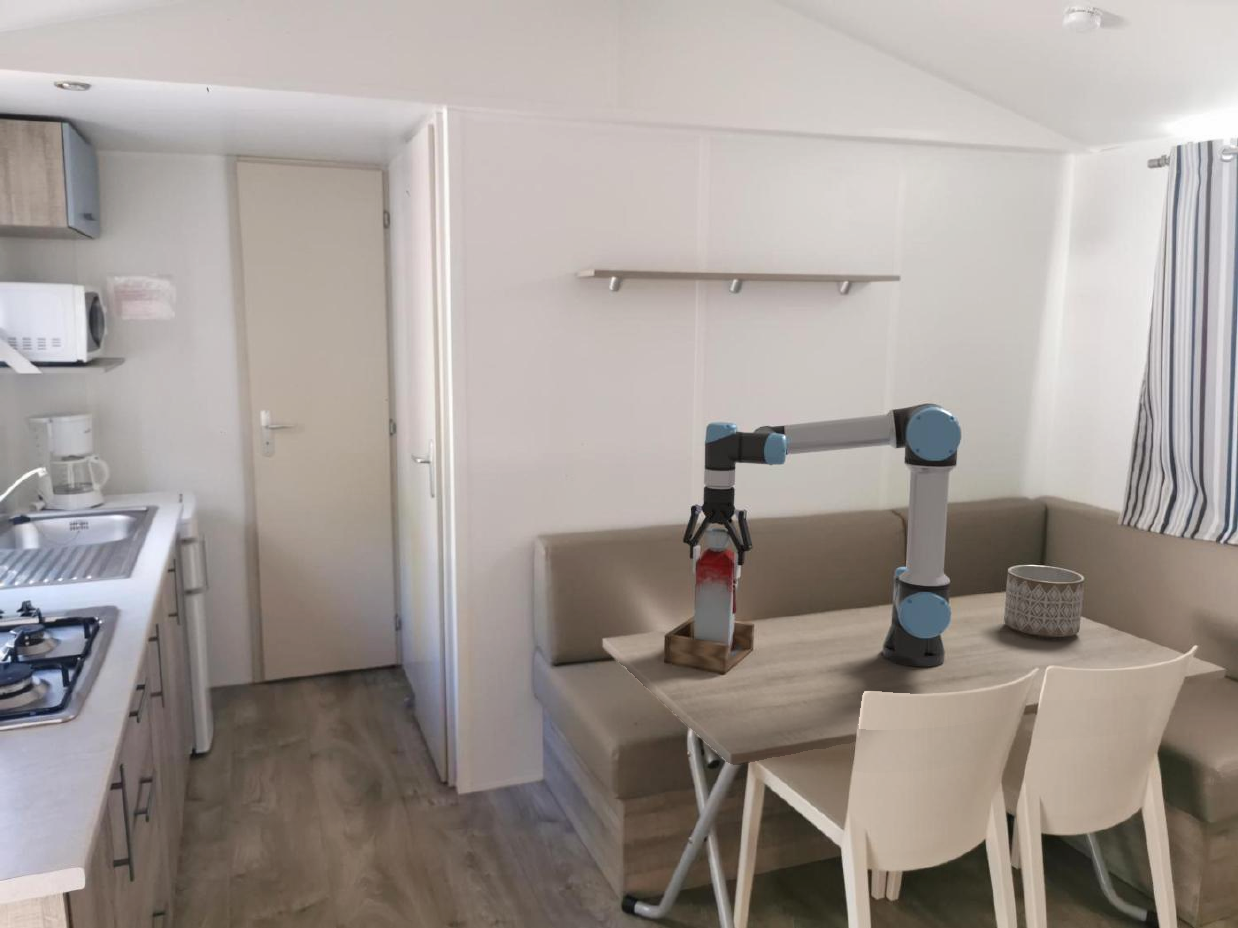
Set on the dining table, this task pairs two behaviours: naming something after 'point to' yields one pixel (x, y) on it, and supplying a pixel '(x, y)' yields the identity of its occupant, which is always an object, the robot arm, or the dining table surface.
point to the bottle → (715, 590)
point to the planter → (1043, 600)
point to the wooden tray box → (707, 648)
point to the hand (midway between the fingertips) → (716, 574)
